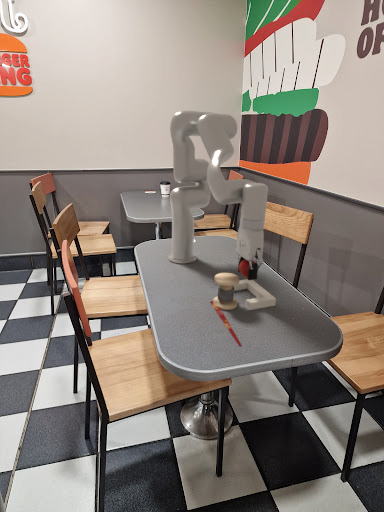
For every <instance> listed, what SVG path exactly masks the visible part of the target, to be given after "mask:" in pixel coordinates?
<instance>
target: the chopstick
mask: <svg viewBox="0 0 384 512" xmlns="http://www.w3.org/2000/svg"><path fill="white" fill-rule="evenodd" d="M210 304H211V307H213V309H214V310H215V312H216V313H217V315H218V316H219V318H220V319H221V321H222V323H223V324H224V326H225V327H226V328H227V330H228V332H229V333H230V335H231V336H232V337H233V339H234V341H235V342H236V343H237V345H238V346H239V347H242V346H243V345H242V343H241V342H240V340H239V339H238V336H237V334H236V333H235V331H234V329H233V328H232V326H231V324H230V323H229V321H228V319H227V317H226V316H225V313H224V312H223V310H221V309H220V308H219V307H216V306H215V305H214V304H213V300H210Z"/></svg>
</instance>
